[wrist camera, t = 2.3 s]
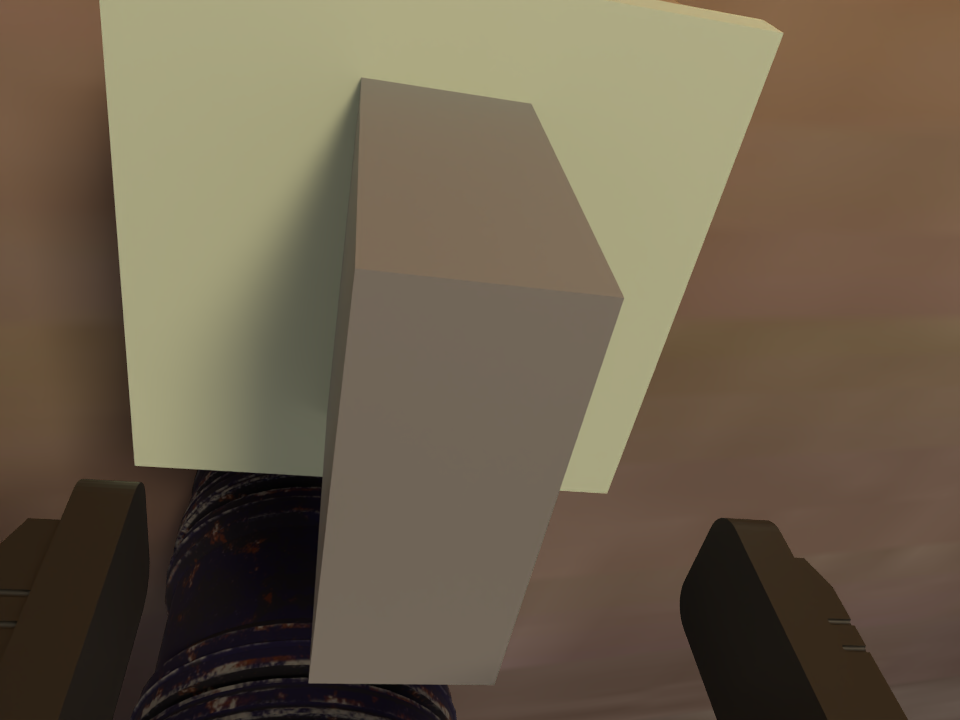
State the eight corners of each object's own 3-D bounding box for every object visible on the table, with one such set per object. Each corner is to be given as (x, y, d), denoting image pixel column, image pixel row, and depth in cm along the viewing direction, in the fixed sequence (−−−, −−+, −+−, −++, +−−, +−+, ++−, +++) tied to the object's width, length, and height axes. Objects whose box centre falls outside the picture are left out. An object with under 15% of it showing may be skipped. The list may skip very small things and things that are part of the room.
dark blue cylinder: (484, 471, 33) (547, 866, 21) (353, 603, 37) (345, 997, 25) (267, 364, 29) (194, 782, 17) (146, 525, 33) (18, 956, 21)
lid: (123, -109, 14) (-130, 14, 7) (743, 7, 17) (1029, 190, 9) (152, 412, 21) (38, 748, 14) (591, 443, 23) (689, 745, 16)
